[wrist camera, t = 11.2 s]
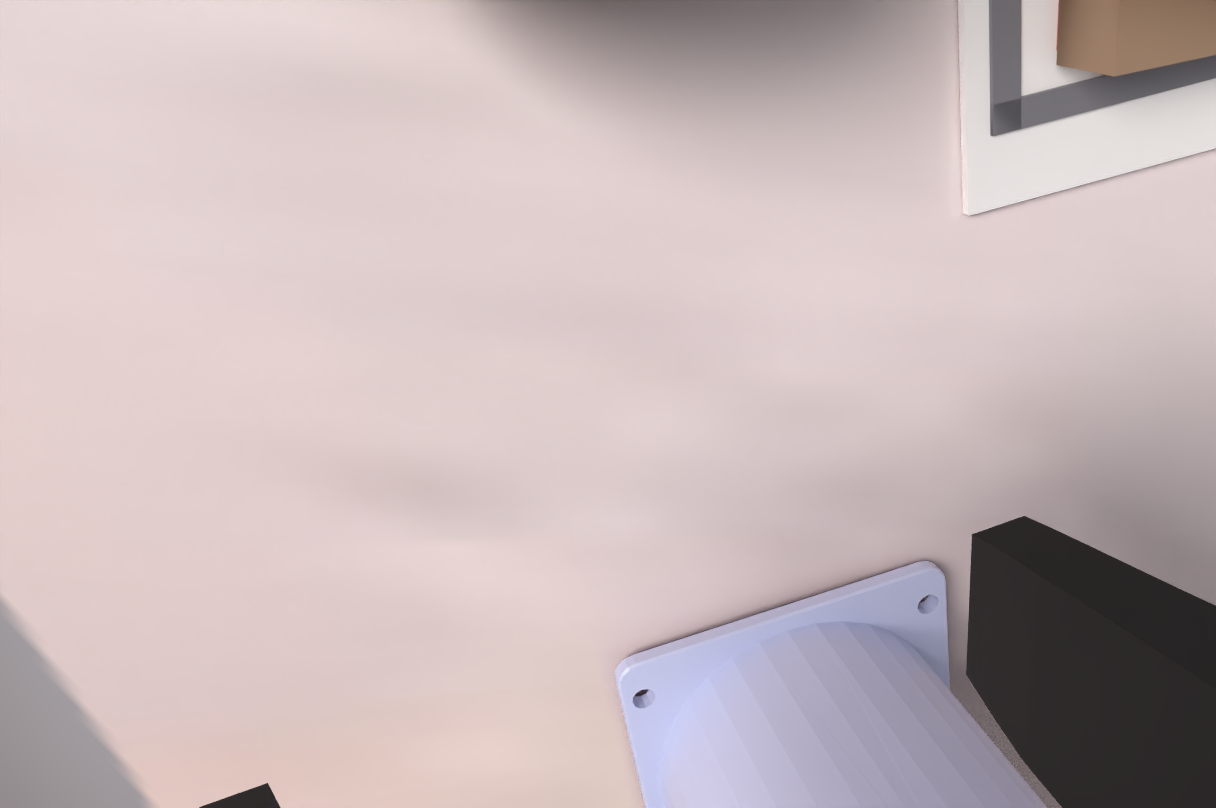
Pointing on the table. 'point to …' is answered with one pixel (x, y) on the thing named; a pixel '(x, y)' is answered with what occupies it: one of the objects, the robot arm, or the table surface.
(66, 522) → the table surface
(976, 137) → the paper
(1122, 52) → the stamp
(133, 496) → the table surface
